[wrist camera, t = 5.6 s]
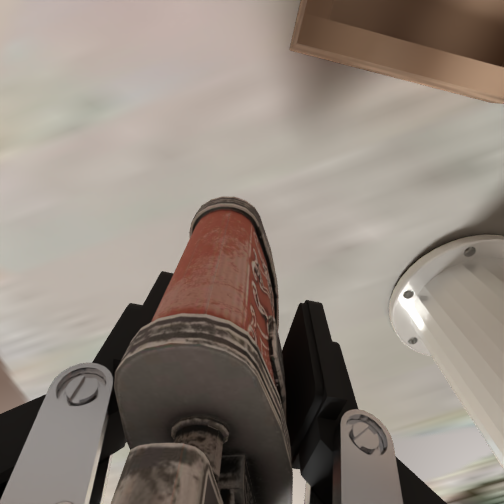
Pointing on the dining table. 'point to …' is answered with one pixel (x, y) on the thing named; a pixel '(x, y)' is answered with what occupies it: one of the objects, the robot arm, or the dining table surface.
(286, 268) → the dining table surface
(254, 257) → the lighter
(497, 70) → the lighter dock
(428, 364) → the dining table surface
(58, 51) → the dining table surface
